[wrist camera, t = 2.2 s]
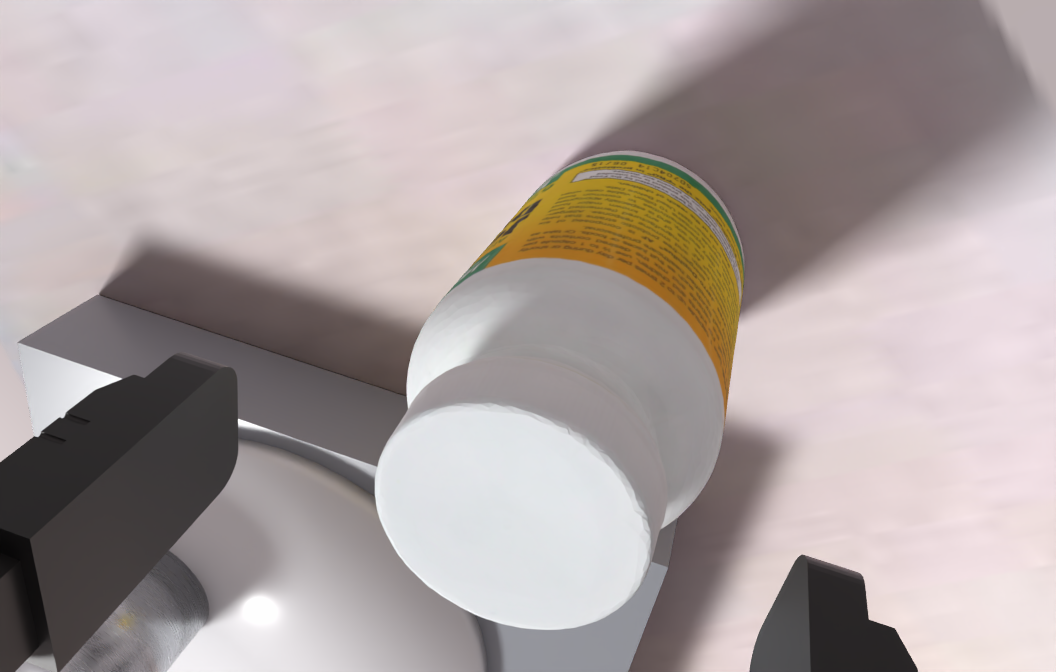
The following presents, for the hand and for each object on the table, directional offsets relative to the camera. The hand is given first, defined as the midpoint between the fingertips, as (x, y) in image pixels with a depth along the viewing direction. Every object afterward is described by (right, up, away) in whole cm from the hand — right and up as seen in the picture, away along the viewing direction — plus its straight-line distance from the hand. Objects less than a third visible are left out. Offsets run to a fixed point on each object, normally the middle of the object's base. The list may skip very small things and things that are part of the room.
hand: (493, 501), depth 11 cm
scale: (-5, -5, +16) cm, 17 cm away
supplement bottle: (+3, +4, +8) cm, 10 cm away
